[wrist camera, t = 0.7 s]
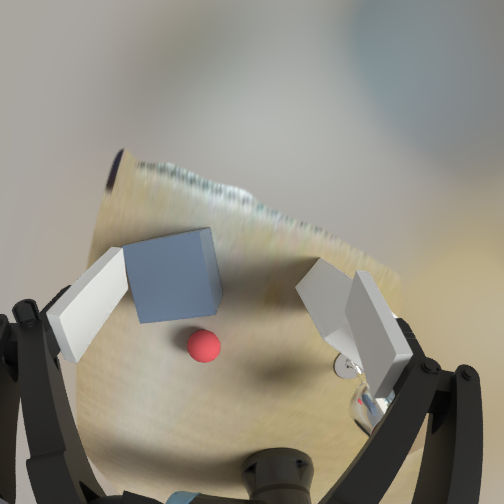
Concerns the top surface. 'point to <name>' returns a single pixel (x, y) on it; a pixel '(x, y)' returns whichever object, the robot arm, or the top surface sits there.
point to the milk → (330, 306)
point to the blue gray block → (174, 276)
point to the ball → (203, 346)
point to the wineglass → (362, 398)
